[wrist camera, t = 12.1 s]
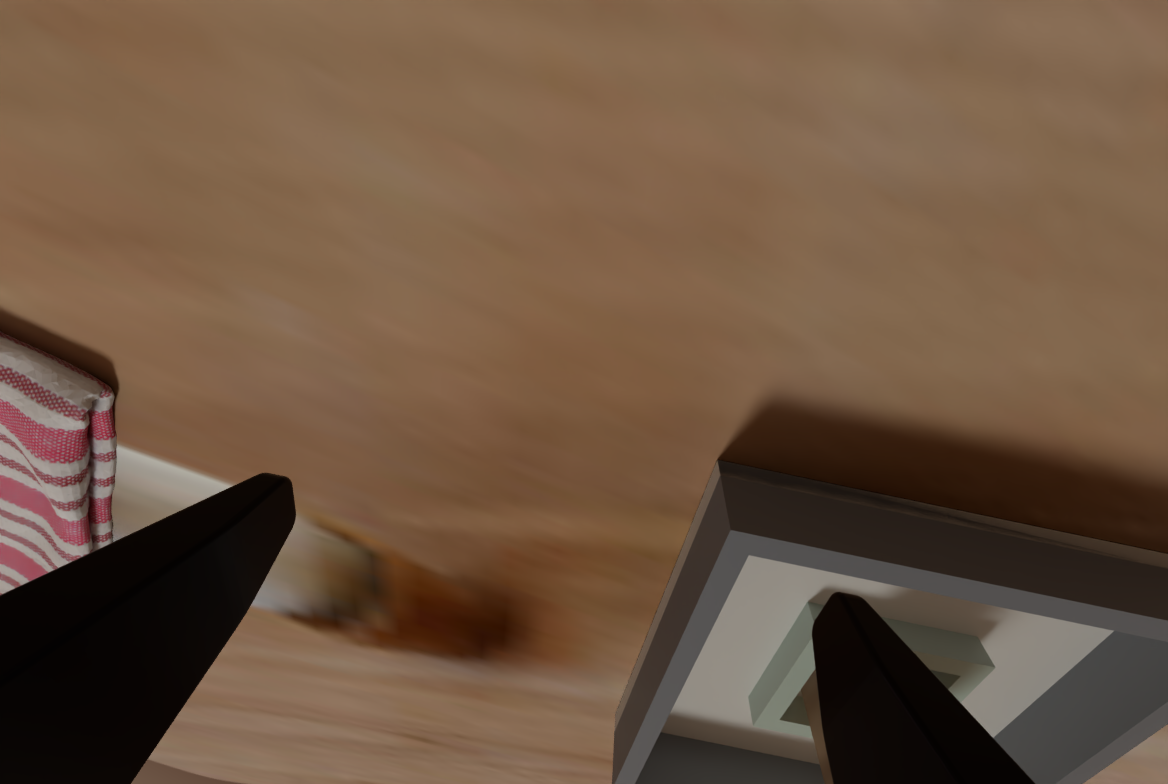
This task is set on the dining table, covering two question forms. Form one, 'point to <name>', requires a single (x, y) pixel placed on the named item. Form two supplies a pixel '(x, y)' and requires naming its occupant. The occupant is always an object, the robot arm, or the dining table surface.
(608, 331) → the dining table surface
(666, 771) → the walled box
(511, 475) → the dining table surface
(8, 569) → the dish towel
